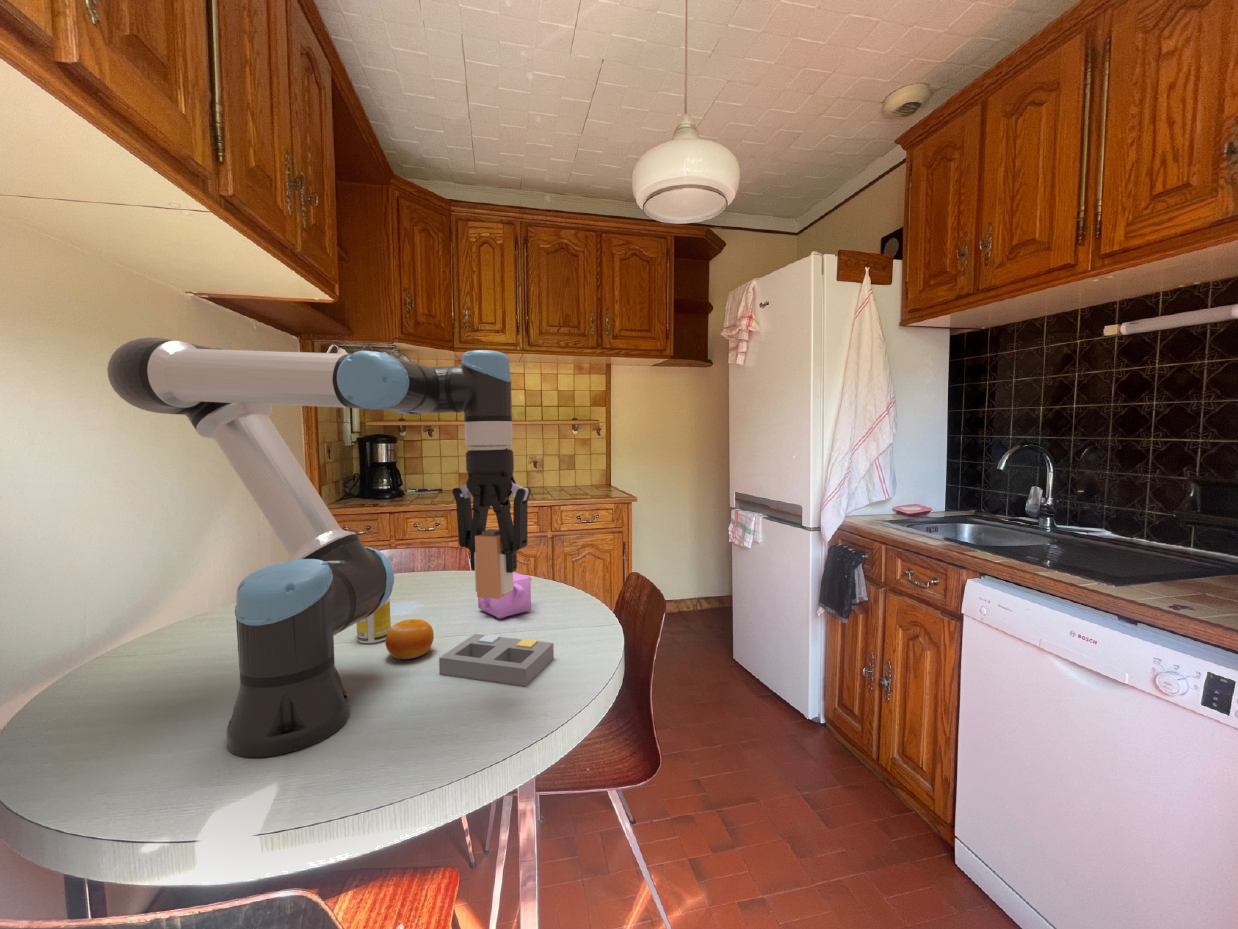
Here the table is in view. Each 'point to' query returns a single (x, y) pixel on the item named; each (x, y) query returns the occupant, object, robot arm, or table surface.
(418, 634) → the fruit
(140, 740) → the table surface
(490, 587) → the plug
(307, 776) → the table surface
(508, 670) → the socket board
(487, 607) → the teapot
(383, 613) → the pill bottle
